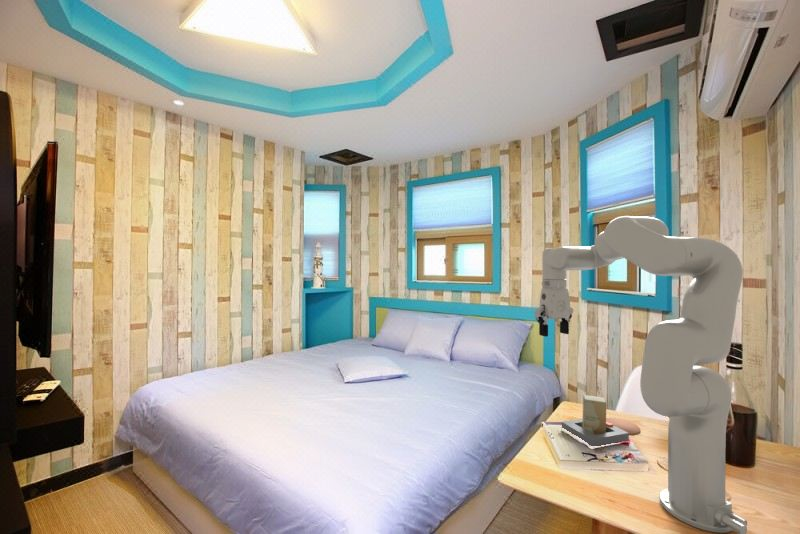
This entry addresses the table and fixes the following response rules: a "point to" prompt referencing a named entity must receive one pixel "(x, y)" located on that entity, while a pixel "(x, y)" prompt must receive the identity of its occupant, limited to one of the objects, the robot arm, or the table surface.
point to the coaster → (624, 425)
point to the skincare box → (594, 414)
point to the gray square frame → (609, 437)
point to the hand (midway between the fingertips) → (554, 334)
